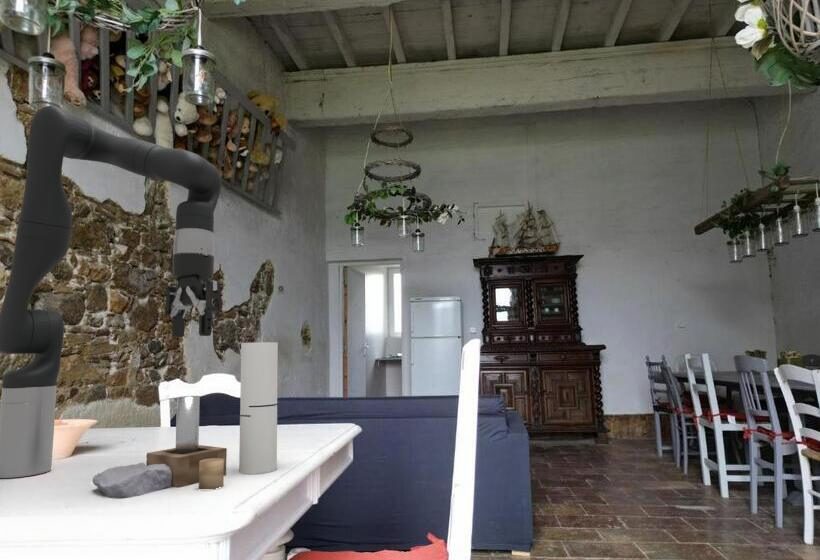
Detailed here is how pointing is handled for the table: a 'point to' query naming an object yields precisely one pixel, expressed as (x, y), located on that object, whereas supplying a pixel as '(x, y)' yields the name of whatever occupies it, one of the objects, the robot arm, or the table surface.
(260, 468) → the cylindrical container
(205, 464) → the oak stub
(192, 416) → the steel pin
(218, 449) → the collar
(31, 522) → the table surface
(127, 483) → the stone block
